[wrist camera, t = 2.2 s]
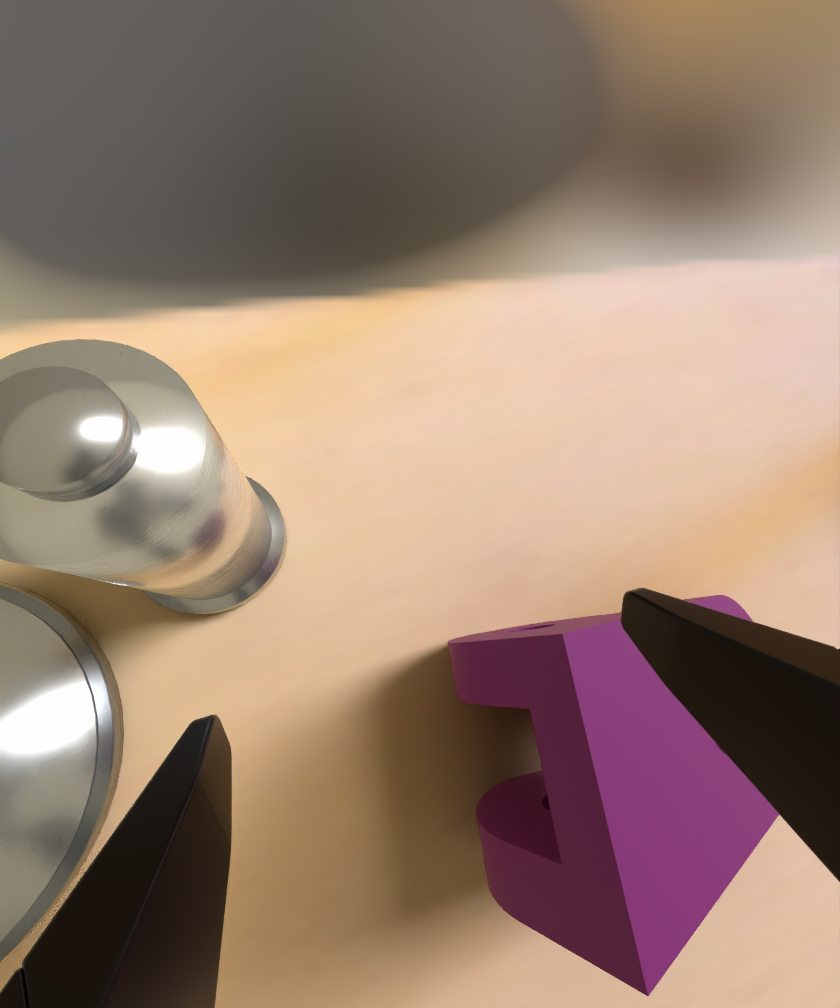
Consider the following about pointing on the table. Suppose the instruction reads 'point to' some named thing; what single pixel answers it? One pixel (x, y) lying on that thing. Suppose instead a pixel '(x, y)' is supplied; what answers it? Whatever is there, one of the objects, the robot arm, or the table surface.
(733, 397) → the table surface
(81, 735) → the disc
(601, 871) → the mounting bracket
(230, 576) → the silver metal cylinder
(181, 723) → the table surface
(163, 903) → the robot arm
